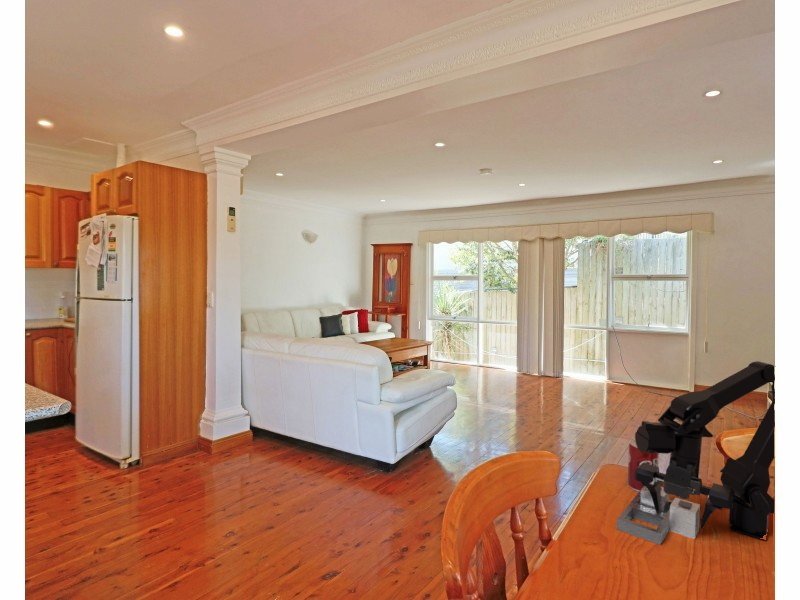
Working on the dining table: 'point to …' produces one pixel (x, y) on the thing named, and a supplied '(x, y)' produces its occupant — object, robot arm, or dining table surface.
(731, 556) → the dining table surface
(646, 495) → the nut
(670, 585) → the dining table surface
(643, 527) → the grey flat frame
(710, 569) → the dining table surface
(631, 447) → the soda can
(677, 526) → the block
